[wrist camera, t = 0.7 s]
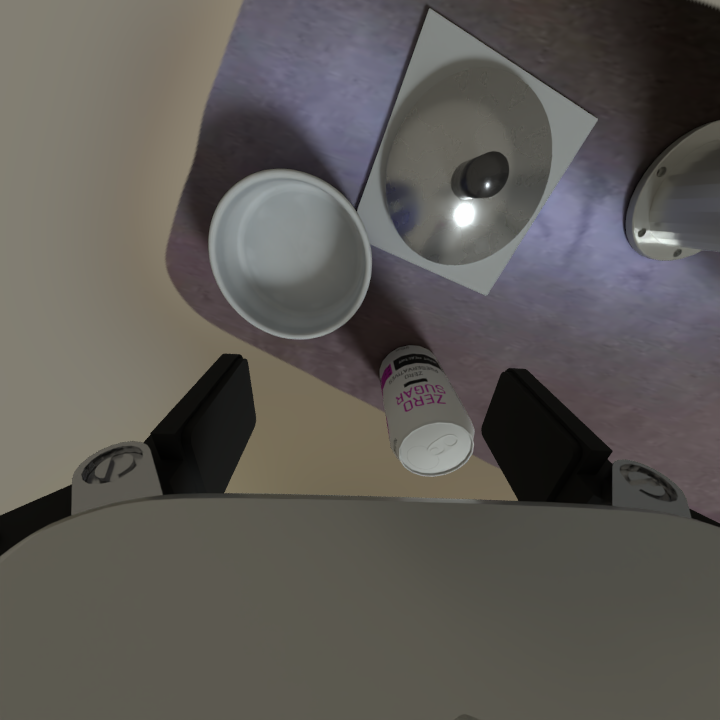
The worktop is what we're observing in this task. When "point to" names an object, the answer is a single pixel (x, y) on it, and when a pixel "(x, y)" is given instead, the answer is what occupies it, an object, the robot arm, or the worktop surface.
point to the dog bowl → (290, 253)
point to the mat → (426, 69)
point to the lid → (468, 166)
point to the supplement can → (424, 413)
